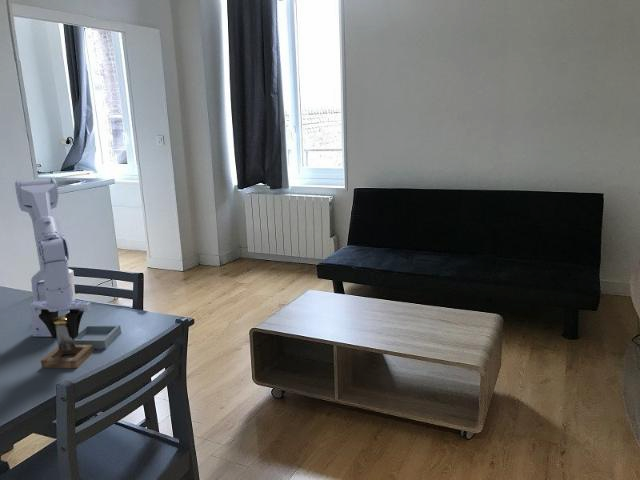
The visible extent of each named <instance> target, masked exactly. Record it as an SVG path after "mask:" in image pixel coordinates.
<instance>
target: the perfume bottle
mask: <svg viewBox="0 0 640 480" xmlns="http://www.w3.org/2000/svg"><path fill="white" fill-rule="evenodd" d="M68 269H69V276H70V281H71V285H72V292H73V296H72V298H73V300H76V294H75V293H76V292H75V291H76V290H75V273H74V270H73V269H71V268H68Z"/></svg>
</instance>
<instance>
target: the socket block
mask: <svg viewBox="0 0 640 480" xmlns="http://www.w3.org/2000/svg"><path fill="white" fill-rule="evenodd" d="M94 352H95V349H94V348H93V345H76V347H75V348H74V349H72V350H68V351H59V350H58V346H56V347H55V348H54V349H53V350H52V351H51V352H49V353H48V354H47V355H46V356H45V357H43V358H42V359H41V360H40V364H41V368H43V369H78V368H80V366H81V365H82V364H83V363H85V361H86V360H87V359H89V358H90V356H91V355H92V354H93V353H94ZM63 355H75V356H74V357H63Z"/></svg>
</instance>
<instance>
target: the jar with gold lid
mask: <svg viewBox="0 0 640 480" xmlns="http://www.w3.org/2000/svg"><path fill="white" fill-rule="evenodd" d="M53 323H54V324H55V330H56V342H57V343H56V344H57V347H58V350H59V351H68V350H72V349H74V348H75V347H76V345H75V339H72V338H71V334H70V328H69V324H68V321H67V319H66V317H65V315H62V316H58V317H56V318H54V319H53Z"/></svg>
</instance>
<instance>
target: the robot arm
mask: <svg viewBox="0 0 640 480" xmlns="http://www.w3.org/2000/svg"><path fill="white" fill-rule="evenodd" d="M14 187H15V193H16V198H17V203H18V208H19V209H20V211H22V212H25V213H28V215H29V217H30V219H31V221H32V228H33V233H34V239H35V246H36V253H37V257H38V263H39V270H38V271H37V272H36V273H35V274H33V276H32V277H31V280H30V283H31V291H32V299H33V302H32V303H30V317H31V323H32V329H33V334H32V337H36V338H37V337H38V338H39V337H42V338H43V337H44V338H45V337H46V338H47V337H50V338H52V339H53V340H54V339H57V337H56V330H55V324H54V323H53V319H54V318H56V317H58V316H62V315H65V317H66V319H67V321H68V324H69V328H70V334H71V338H72V339H75V338H76V337H77V336H78V331H80V325H81V321H82V317H83V314H84V313H88V312H89V311H92V303H91V301H83V300H78V299H75V300H73V298H72V296H73V292H72V285H71V281H70V276H69V269H70V268H69V262H68V261H69V258H70V252H69V246H68V243H67V240H66V238H65V237H64V235H63V233H62V231H61V227H60V223H59V221H58V220H57V219H56V218H55V217H53V214H52V213H53V212H52V210H53V209H55V208H57V205H58V201H59V189H58V184H57V180H56V179H55V178H54V177H50V178H41V179H40V178H39V179H28V180H27V179H26V180H16V181H15V182H14Z"/></svg>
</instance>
